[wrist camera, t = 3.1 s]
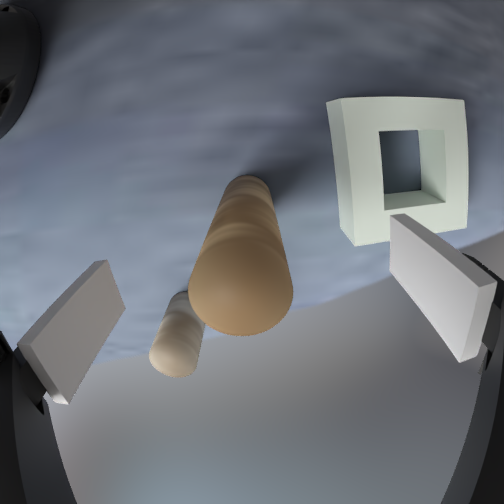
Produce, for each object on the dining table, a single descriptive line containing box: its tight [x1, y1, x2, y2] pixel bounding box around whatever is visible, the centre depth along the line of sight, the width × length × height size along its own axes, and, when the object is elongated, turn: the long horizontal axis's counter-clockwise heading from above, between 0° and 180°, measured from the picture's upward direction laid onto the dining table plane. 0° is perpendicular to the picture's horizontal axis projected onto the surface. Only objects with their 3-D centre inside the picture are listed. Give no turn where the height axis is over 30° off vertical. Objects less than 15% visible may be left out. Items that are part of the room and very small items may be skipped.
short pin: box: [149, 292, 205, 377], centre depth 24 cm, size 4×4×7 cm
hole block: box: [326, 97, 468, 246], centre depth 20 cm, size 10×10×4 cm
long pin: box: [188, 175, 293, 336], centre depth 17 cm, size 4×4×14 cm
